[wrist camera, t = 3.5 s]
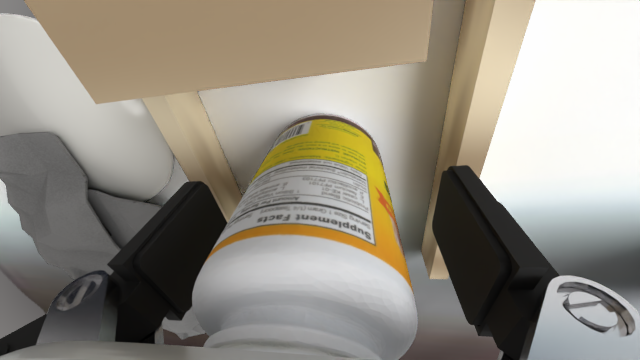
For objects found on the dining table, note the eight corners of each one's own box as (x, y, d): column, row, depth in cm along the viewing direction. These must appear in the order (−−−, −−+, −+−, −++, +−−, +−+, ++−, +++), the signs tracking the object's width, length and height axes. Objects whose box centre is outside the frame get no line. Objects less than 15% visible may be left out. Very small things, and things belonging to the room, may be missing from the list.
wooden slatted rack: (436, 251, 15) (488, 389, 10) (253, 251, 17) (207, 366, 12) (514, -74, 7) (1383, -527, 1) (135, 5, 9) (-243, -9, 3)
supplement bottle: (360, 209, 14) (378, 497, 6) (270, 188, 14) (149, 458, 5) (399, 124, 11) (579, 521, 2) (280, 94, 10) (8, 419, 2)
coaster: (159, 220, 16) (155, 225, 16) (-8, 148, 14) (-19, 152, 13) (191, 102, 11) (185, 105, 10) (-75, -50, 8) (-95, -53, 8)
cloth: (-98, 102, 12) (-177, 119, 10) (154, 152, 12) (118, 179, 10) (111, 311, 28) (94, 332, 26) (219, 334, 28) (210, 357, 26)
